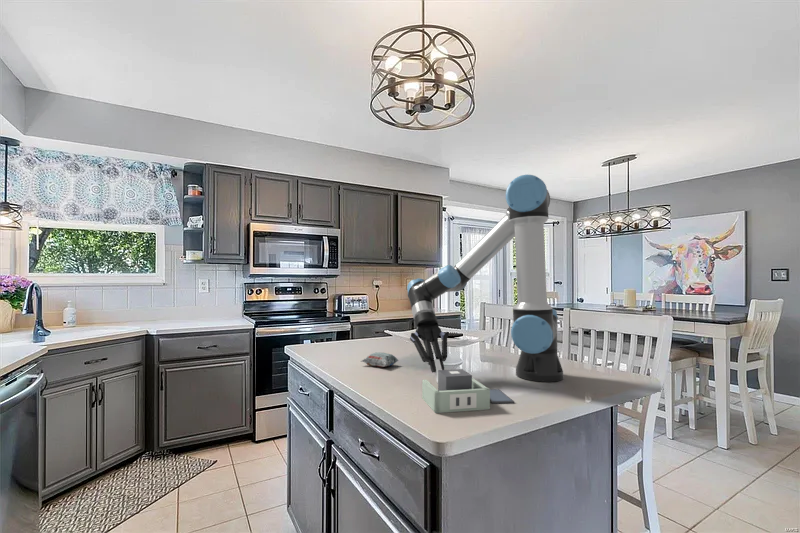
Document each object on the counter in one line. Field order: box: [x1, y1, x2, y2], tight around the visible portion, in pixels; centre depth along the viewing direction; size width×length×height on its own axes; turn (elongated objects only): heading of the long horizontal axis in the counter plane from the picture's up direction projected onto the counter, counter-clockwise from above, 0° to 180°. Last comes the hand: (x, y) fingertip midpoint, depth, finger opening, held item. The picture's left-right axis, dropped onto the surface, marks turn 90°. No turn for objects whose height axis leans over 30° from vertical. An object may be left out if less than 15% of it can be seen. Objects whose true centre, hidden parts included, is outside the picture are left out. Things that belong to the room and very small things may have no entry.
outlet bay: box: [421, 377, 491, 414], centre depth 103 cm, size 14×12×5 cm
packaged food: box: [360, 352, 399, 368], centre depth 147 cm, size 9×12×5 cm
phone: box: [489, 388, 515, 405], centre depth 109 cm, size 6×12×1 cm, turn 5°
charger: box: [437, 368, 473, 391], centre depth 104 cm, size 7×7×8 cm
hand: (440, 381), depth 114 cm, fingers closed
